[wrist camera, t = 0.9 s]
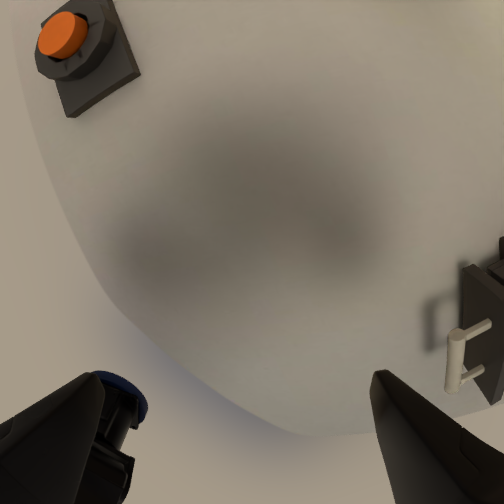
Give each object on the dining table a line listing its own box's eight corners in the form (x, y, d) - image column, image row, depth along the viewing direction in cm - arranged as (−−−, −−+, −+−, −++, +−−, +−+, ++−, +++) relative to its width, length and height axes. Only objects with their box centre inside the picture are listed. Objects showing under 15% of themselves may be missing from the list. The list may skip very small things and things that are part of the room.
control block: (141, 74, 17) (122, 65, 14) (74, 118, 18) (51, 117, 15) (106, -16, 14) (89, -30, 11) (48, 27, 15) (26, 19, 12)
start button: (93, 40, 14) (79, 34, 12) (57, 67, 14) (42, 64, 12) (83, 10, 13) (70, 2, 11) (49, 36, 13) (34, 32, 12)
